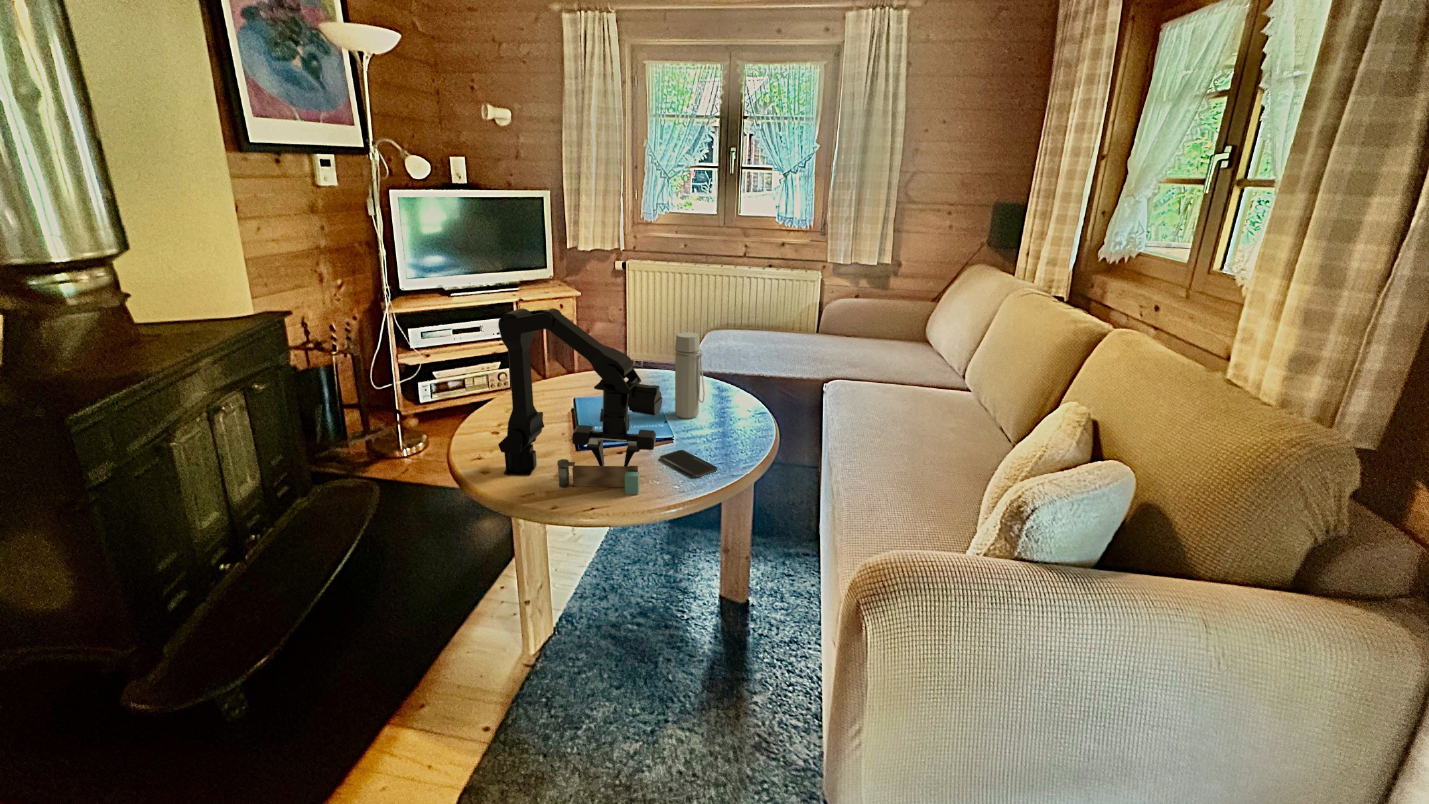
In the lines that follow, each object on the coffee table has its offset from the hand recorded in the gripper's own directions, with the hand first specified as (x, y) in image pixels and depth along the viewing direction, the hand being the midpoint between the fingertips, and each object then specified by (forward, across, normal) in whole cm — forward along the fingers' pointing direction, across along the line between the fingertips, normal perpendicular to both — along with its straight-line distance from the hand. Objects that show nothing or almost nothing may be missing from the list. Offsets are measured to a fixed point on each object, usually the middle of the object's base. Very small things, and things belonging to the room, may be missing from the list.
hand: (613, 470), depth 160 cm
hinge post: (+4, +11, +2) cm, 12 cm away
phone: (+3, -17, -11) cm, 21 cm away
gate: (+3, +3, +2) cm, 5 cm away
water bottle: (+3, -16, -46) cm, 49 cm away
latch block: (+3, -5, +5) cm, 7 cm away
